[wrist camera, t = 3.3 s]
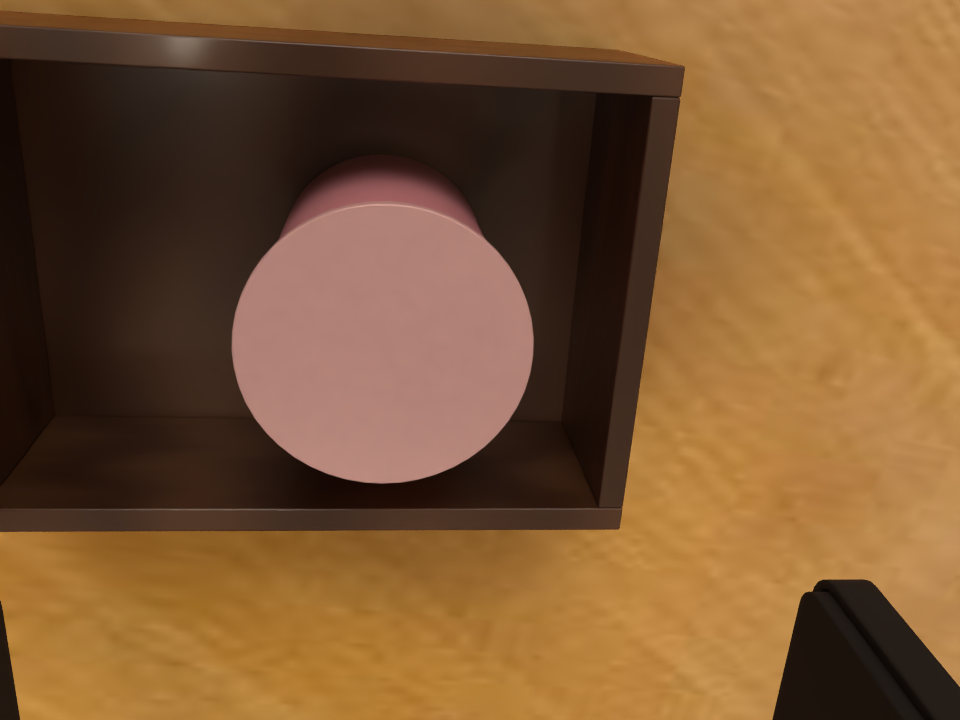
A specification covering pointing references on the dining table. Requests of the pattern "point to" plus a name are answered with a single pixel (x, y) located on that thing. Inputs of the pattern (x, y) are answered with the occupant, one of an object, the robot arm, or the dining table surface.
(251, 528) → the chest
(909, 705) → the robot arm
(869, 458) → the dining table surface
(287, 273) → the pink cylinder
